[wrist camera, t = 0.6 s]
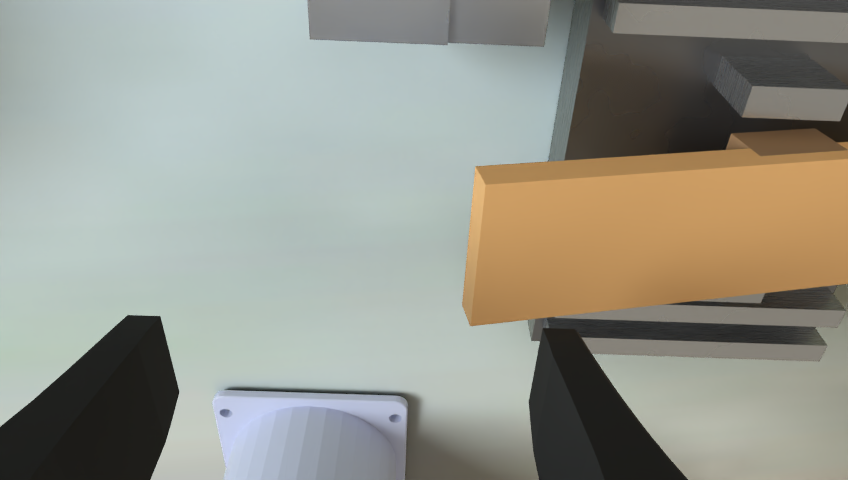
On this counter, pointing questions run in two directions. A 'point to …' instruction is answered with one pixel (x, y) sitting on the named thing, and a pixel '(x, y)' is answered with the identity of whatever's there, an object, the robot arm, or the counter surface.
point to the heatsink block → (702, 142)
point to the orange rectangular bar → (657, 228)
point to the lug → (431, 21)
